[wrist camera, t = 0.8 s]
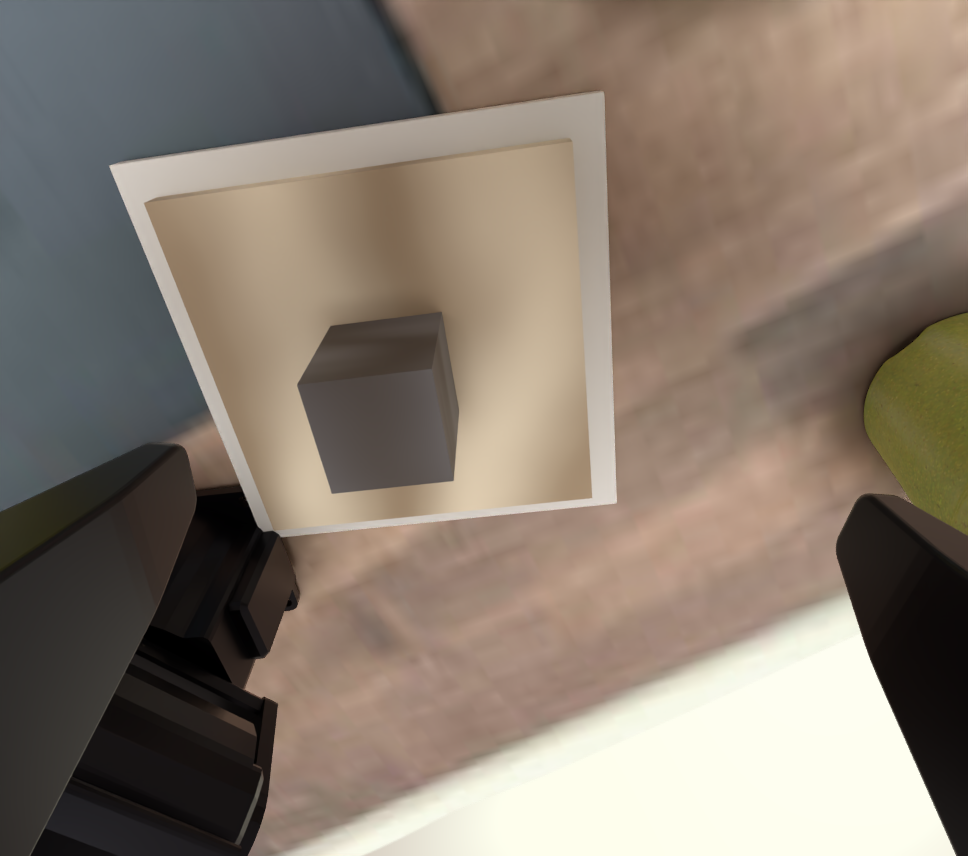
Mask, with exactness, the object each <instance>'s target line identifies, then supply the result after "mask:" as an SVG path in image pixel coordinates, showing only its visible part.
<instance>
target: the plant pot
mask: <svg viewBox="0 0 968 856" xmlns="http://www.w3.org/2000/svg"><path fill="white" fill-rule="evenodd" d="M864 425H865V429H866V433H867V435H868V437H869V439H870V441H871V442H872V444H873V445H874V447H875V448H876V450H877V451H878V452H879V454H880V455H881V457H882V458H883V460H884V461H885V463H886V464H887V466H888V467H889V469H890V470H891V472H892V473H893V475H894V476H895V477H896V479H897V480H898V482H899V483H900V485H901V486H902V488H903V490H904V491H905V493H906V494H907V496H908V497H909V499H910V500H911V502H912V503H913V505H914V506H916V507H918V508H920V509H922V510H923V511H925V512H927V513H929V514H930V515H932V516H934V517H936V518H938V519H939V520H941V521H943V522H945V523H946V524H948V525H950V526H952V527H954V528H955V529H957V530H959V531H961V532H963V533H964V534H966V535H968V313H964V314H960V315H957V316H953V317H950V318H947V319H944V320H942V321H939V322H937V323H935V324H933V325H931V326H929V327H927V328H926V329H925V330H924V331H923V332H922V333H921V334H920V335H919V337H917V338H916V339H915V340H914V341H913V342H912V343H911V344H910V345H908V346H907V347H906V348H905V349H903V350H902V351H901V352H899V353H898V354H896V355H895V356H893V357H891V358H889V359H888V360H887V361H886V362H885V363H884V364H883V365H882V366H881V368H880V369H879V371H878V372H877V374H876V375H875V377H874V379H873V381H872V383H871V385H870V387H869V390H868V393H867V396H866V399H865V405H864Z"/></svg>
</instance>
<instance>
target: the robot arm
mask: <svg viewBox="0 0 968 856" xmlns="http://www.w3.org/2000/svg"><path fill="white" fill-rule="evenodd" d="M242 497H245V494H244V492H243V489H242V487H241V486H236V487H226V488H217V489H208V490H199V491H196V490H195V485H194V481H193V477H192V472H191V468H190V464H189V459H188V455H187V453H186V450H185V449H184V448H183V447H182V446H181V445H179V444H170V443H156V442H152V443H147V444H145V445H143V446H140V447H138V448H136V449H134V450H132V451H130V452H128V453H125V454H123V455H121V456H119V457H117V458H115V459H113V460H111V461H108V462H106V463H104V464H102V465H100V466H98V467H96V468H93V469H91V470H89V471H87V472H85V473H83V474H81V475H78V476H76V477H74V478H72V479H70V480H68V481H66V482H63V483H61V484H59V485H57V486H55V487H53V488H51V489H49V490H46V491H44V492H42V493H40V494H38V495H36V496H34V497H31V498H29V499H27V500H25V501H23V502H21V503H19V504H16V505H14V506H12V507H10V508H8V509H6V510H4V511H1V512H0V856H248V854H249V852H250V849H251V847H252V845H253V843H254V841H255V838H256V836H257V833H258V831H259V828H260V825H261V822H262V819H263V816H264V812H265V809H266V803H267V798H268V790H269V781H270V772H271V763H272V754H273V744H274V735H275V726H276V717H277V708H278V703H276V702H274V701H272V700H270V699H268V698H266V697H263V698H260V697H258V696H256V695H254V694H252V693H250V692H248V691H246V690H244V689H245V686H246V684H247V681H248V678H249V676H250V673H251V670H252V668H253V665H254V663H255V660H256V659H261V658H265V657H266V655H267V654H268V653H269V652H270V649H271V646H272V644H273V641H274V638H275V635H276V633H277V630H278V627H279V624H280V622H281V619H282V616H283V613H284V611H290V610H294V609H295V608H296V607H297V605H298V602H299V599H300V594H299V592H298V589H297V587H296V584H295V580H296V575H295V573H294V570H293V568H292V565H291V563H290V560H289V558H288V555H287V553H286V550H285V547H284V545H283V542H282V540H281V537H280V535H279V534H278V533H276V532H274V531H266V532H263V531H262V529H261V528H259V527H258V526H257V523H256V521H255V518H254V516H253V514H252V511H251V509H250V506H249V504H248V501H246V500H244V499H243V498H242ZM836 555H837V559H838V562H839V565H840V568H841V572H842V575H843V578H844V581H845V584H846V587H847V590H848V593H849V597H850V600H851V603H852V606H853V609H854V612H855V615H856V619H857V622H858V625H859V628H860V631H861V634H862V637H863V640H864V643H865V646H866V649H867V652H868V655H869V657H870V660H871V662H872V665H873V667H874V670H875V672H876V675H877V677H878V679H879V682H880V684H881V686H882V688H883V691H884V693H885V695H886V698H887V700H888V702H889V704H890V706H891V708H892V711H893V713H894V716H895V718H896V720H897V722H898V725H899V727H900V729H901V732H902V734H903V736H904V738H905V741H906V743H907V745H908V747H909V750H910V752H911V754H912V756H913V759H914V761H915V763H916V765H917V768H918V770H919V772H920V775H921V777H922V779H923V781H924V784H925V786H926V788H927V790H928V792H929V795H930V797H931V799H932V802H933V804H934V806H935V809H936V811H937V813H938V815H939V818H940V820H941V822H942V824H943V827H944V829H945V831H946V833H947V836H948V838H949V840H950V843H951V845H952V847H953V849H954V852H955V854H956V856H968V535H966V534H964V533H963V532H961V531H959V530H957V529H955V528H954V527H952V526H950V525H948V524H946V523H945V522H943V521H941V520H939V519H938V518H936V517H934V516H932V515H930V514H929V513H927V512H925V511H923V510H922V509H920V508H918V507H916V506H914V505H913V504H911V503H909V502H907V501H906V500H904V499H902V498H900V497H898V496H894V495H883V494H864V495H862V496H861V497H859V498H858V499H857V501H856V502H855V504H854V506H853V508H852V510H851V512H850V514H849V516H848V518H847V520H846V522H845V524H844V526H843V528H842V530H841V532H840V534H839V536H838V539H837V543H836ZM288 599H289V600H288Z"/></svg>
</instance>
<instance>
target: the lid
mask: <svg viewBox="0 0 968 856" xmlns="http://www.w3.org/2000/svg"><path fill="white" fill-rule="evenodd" d="M144 205H145V208H146V210H147V213H148V215H149V218H150V220H151V223H152V225H153V228H154V230H155V233H156V235H157V238H158V240H159V243H160V245H161V248H162V250H163V253H164V255H165V258H166V260H167V263H168V265H169V268H170V271H171V273H172V276H173V278H174V281H175V283H176V286H177V288H178V291H179V293H180V296H181V298H182V301H183V303H184V306H185V308H186V311H187V313H188V316H189V318H190V321H191V323H192V326H193V328H194V331H195V333H196V336H197V339H198V341H199V344H200V346H201V349H202V351H203V354H204V356H205V359H206V361H207V364H208V366H209V369H210V371H211V374H212V376H213V379H214V381H215V384H216V386H217V389H218V391H219V394H220V396H221V399H222V401H223V404H224V406H225V409H226V412H227V414H228V417H229V419H230V422H231V424H232V427H233V429H234V432H235V434H236V437H237V439H238V442H239V444H240V447H241V449H242V452H243V454H244V457H245V459H246V462H247V464H248V467H249V469H250V472H251V474H252V477H253V480H254V482H255V485H256V487H257V490H258V492H259V495H260V497H261V500H262V502H263V505H264V507H265V510H266V512H267V515H268V517H269V520H270V522H271V525H272V527H273V530H274V531H276V530H286V529H296V528H306V527H315V526H325V525H335V524H345V523H354V522H364V521H374V520H384V519H394V518H403V517H413V516H423V515H433V514H442V513H452V512H462V511H472V510H481V509H491V508H501V507H511V506H521V505H530V504H540V503H550V502H560V501H569V500H579V499H589V498H592V484H591V466H590V448H589V430H588V411H587V393H586V375H585V357H584V339H583V321H582V302H581V284H580V266H579V248H578V230H577V212H576V194H575V175H574V157H573V141H572V140H571V139H570V138H565V139H558V140H551V141H544V142H537V143H530V144H523V145H516V146H509V147H502V148H495V149H488V150H481V151H475V152H468V153H461V154H454V155H447V156H440V157H433V158H426V159H419V160H412V161H405V162H398V163H391V164H384V165H377V166H370V167H363V168H357V169H350V170H343V171H336V172H329V173H322V174H315V175H308V176H301V177H294V178H287V179H280V180H273V181H266V182H259V183H252V184H245V185H238V186H232V187H225V188H218V189H211V190H204V191H197V192H190V193H183V194H176V195H169V196H162V197H156V198H154V199H152V200H149V201H147V202H145V203H144Z"/></svg>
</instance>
